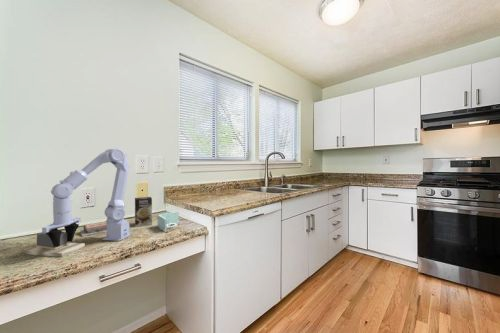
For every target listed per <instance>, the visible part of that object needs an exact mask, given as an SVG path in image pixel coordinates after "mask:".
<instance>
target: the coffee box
mask: <svg viewBox="0 0 500 333" xmlns="http://www.w3.org/2000/svg"><path fill="white" fill-rule="evenodd" d="M152 225H153V197H151V196H144V197H141V196H140V197H135V198H134V228H135V227H137V228H138V227H144V226H145V227H146V226H152Z"/></svg>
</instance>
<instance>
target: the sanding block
mask: <svg viewBox="0 0 500 333" xmlns="http://www.w3.org/2000/svg"><path fill="white" fill-rule="evenodd" d="M65 245H67V232H66V231H62V232H61V236H60V246H59V247H54V246H53V243H52V241H51V239H50V238H49V236H48V235H47V234H46V233H43V232H42V231H41V232H39V233H37V234H36V246H37V247H40V248H47V249H54V250H55V249H58V248H60V247H63V246H65Z"/></svg>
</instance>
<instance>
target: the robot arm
mask: <svg viewBox="0 0 500 333" xmlns="http://www.w3.org/2000/svg"><path fill="white" fill-rule="evenodd" d="M108 163H111V164H112V165H113V166H114V167H115V168H116V173H115V177H114V183H113V188H112V194H111V198H110V200H109V202H108V204H107V207H106V208H105V209H104V215H105V217H106V227H107V232H106V236H104V238H102V241H115V242H117V241H118V242H120V241H121V240H125V239H126V238H128V237H130V236H131V235H132V234H131V233H130V222H129V221H128V220H125V219H124V218H125V216H126V210H125V203H124V198H125V192H126V187H127V182H128V177H129V173H130V172H129V171H130V164H129V160H128V158H127V154H126V153H125V151H124V150H122V149H121V148H118V147H117V148H108V149H105V150H104V152H101V153H99V154H98V155H97V156H96V157H95V158H93V159H92V160H91V161H90V162H89V163H88V164H87V165H85V166H84V167H83V168H82V169H80V170H77V169H75V170H74V171H70V172H69V175H68V176H66V177H65V178H63V179H60V180H59V183H56V184H55V185H54V186H52V188H51V190H50V193H51V195H52V196H53V197H52V200H53V201H52V212H53V213H52V214H53V215H52V216H53V222H52V223H50V224H49V225H46V226H43V227H41V233H42V232H43V233H46V234H47V235H48V236H49V238H50V239H51V241H52V243H53V246H54V247H59V246H60V236H61V232H63V230H61V228H64V232H67V242H68V243H73V240H74V237H75V233H76V231H77V229H78V228H79V227H80V224H79V223H81V221H82V220H81V219H82V218H81V217H75V218H72V201H71V195H72V194H73V192H74V190H76V189H78V187H80V186H81V185H82V184H83V183H85V181H87V180H88V175H89V174H91V173H92V172H94V171H95V170H97V169H98V168H99V167H100V166H101V165H103V164H108Z"/></svg>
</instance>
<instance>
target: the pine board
mask: <svg viewBox="0 0 500 333" xmlns="http://www.w3.org/2000/svg"><path fill="white" fill-rule="evenodd" d="M85 247H86V246H85V243H82V242H81V243H80V242H67V245H65V246H63V247H60V248H58V249H55V250H54V249H47V248H40V247H37V245H36V246H33V247H31V248H28V249H24V250H23V253H24V255H32V256H44V257H45V256H47V257H57V258H58V257H59V258H63V257H65V256H68V255H70V254H72V253H74V252H77V251H78V250H81V249H83V248H85Z"/></svg>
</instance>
